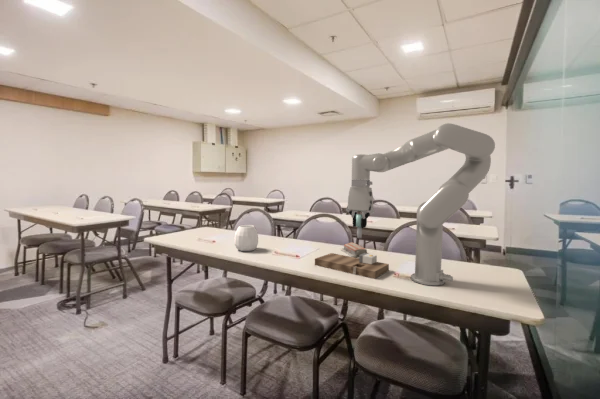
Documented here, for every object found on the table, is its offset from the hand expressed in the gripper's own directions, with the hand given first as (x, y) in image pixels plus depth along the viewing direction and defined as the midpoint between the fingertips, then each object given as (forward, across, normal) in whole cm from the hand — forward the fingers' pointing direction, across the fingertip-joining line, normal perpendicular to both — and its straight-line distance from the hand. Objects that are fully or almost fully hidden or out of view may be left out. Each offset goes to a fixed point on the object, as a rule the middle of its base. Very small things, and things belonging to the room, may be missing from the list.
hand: (359, 226), depth 129 cm
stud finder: (+17, -1, -7) cm, 18 cm away
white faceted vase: (+20, +68, +4) cm, 71 cm away
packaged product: (+21, +18, -29) cm, 40 cm away
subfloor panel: (+20, +6, -4) cm, 21 cm away
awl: (+5, 0, 0) cm, 5 cm away
